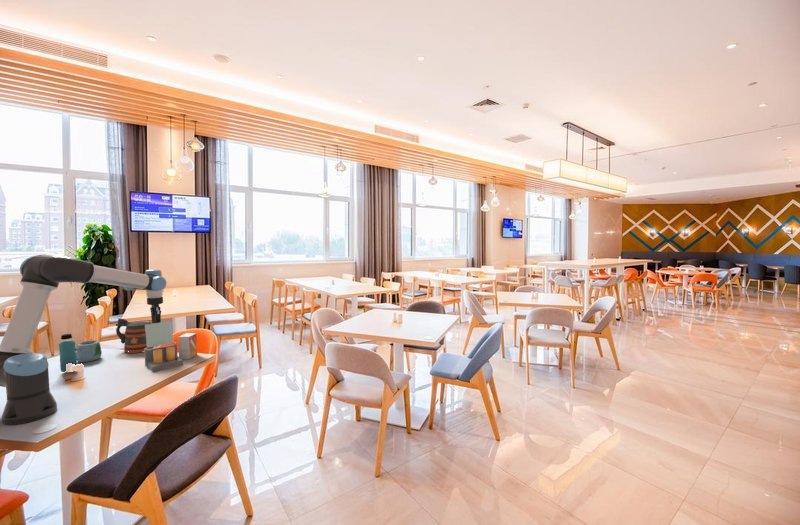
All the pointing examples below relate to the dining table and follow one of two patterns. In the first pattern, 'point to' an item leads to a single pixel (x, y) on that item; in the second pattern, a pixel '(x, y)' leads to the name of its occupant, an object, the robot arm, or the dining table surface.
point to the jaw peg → (170, 353)
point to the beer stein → (133, 335)
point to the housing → (160, 358)
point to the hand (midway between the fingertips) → (157, 337)
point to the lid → (159, 334)
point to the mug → (88, 351)
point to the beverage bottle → (67, 352)
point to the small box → (187, 345)
